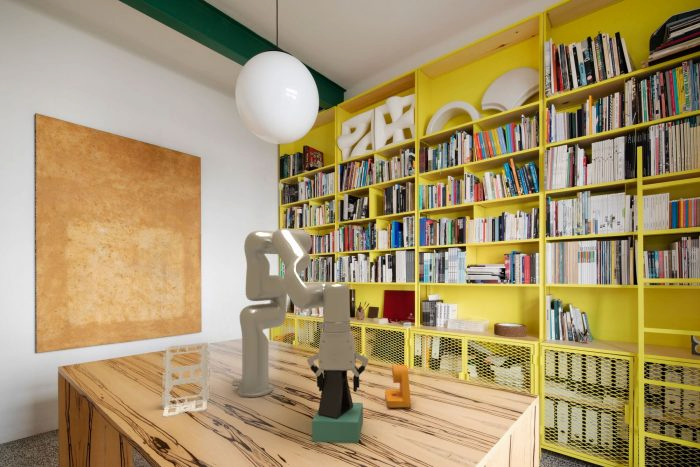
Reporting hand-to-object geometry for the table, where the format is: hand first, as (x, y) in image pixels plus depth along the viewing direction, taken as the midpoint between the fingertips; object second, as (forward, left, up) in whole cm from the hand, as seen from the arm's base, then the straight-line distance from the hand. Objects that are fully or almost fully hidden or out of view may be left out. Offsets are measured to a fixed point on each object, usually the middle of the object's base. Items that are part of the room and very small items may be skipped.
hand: (338, 389), depth 96 cm
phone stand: (-1, 0, -6) cm, 6 cm away
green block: (0, 0, -11) cm, 11 cm away
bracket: (+16, +20, -11) cm, 28 cm away
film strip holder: (-54, +14, -11) cm, 57 cm away
